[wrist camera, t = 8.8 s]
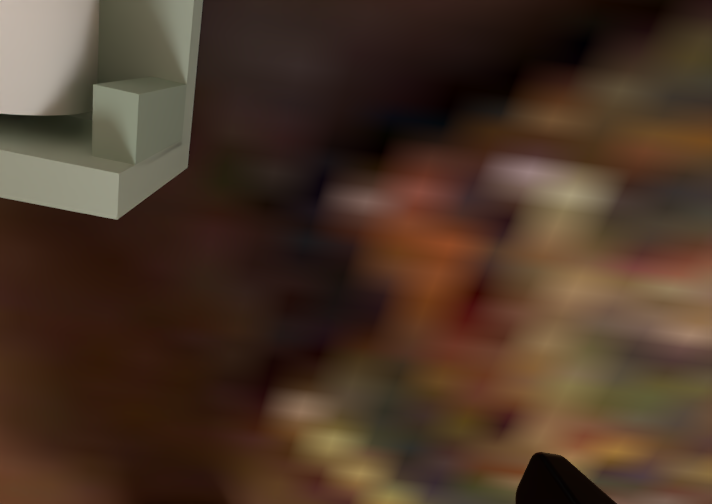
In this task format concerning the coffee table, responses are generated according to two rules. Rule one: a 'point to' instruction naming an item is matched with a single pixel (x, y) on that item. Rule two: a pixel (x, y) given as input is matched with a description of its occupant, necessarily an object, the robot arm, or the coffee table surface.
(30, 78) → the cylinder
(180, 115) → the cradle
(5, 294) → the coffee table surface
